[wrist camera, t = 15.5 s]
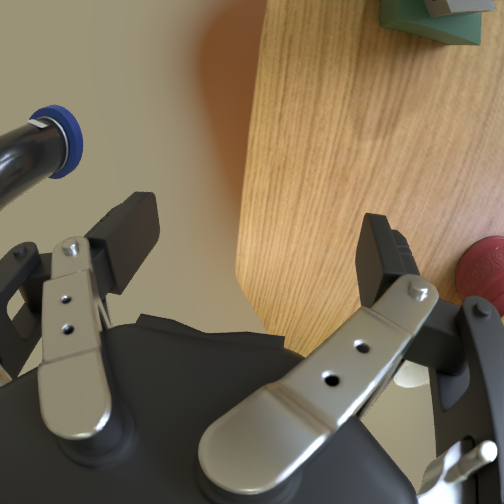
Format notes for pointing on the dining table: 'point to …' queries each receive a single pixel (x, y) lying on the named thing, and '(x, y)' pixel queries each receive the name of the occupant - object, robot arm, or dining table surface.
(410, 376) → the white cup
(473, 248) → the kitchen canister
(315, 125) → the dining table surface
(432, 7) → the dice cube
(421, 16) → the green block
